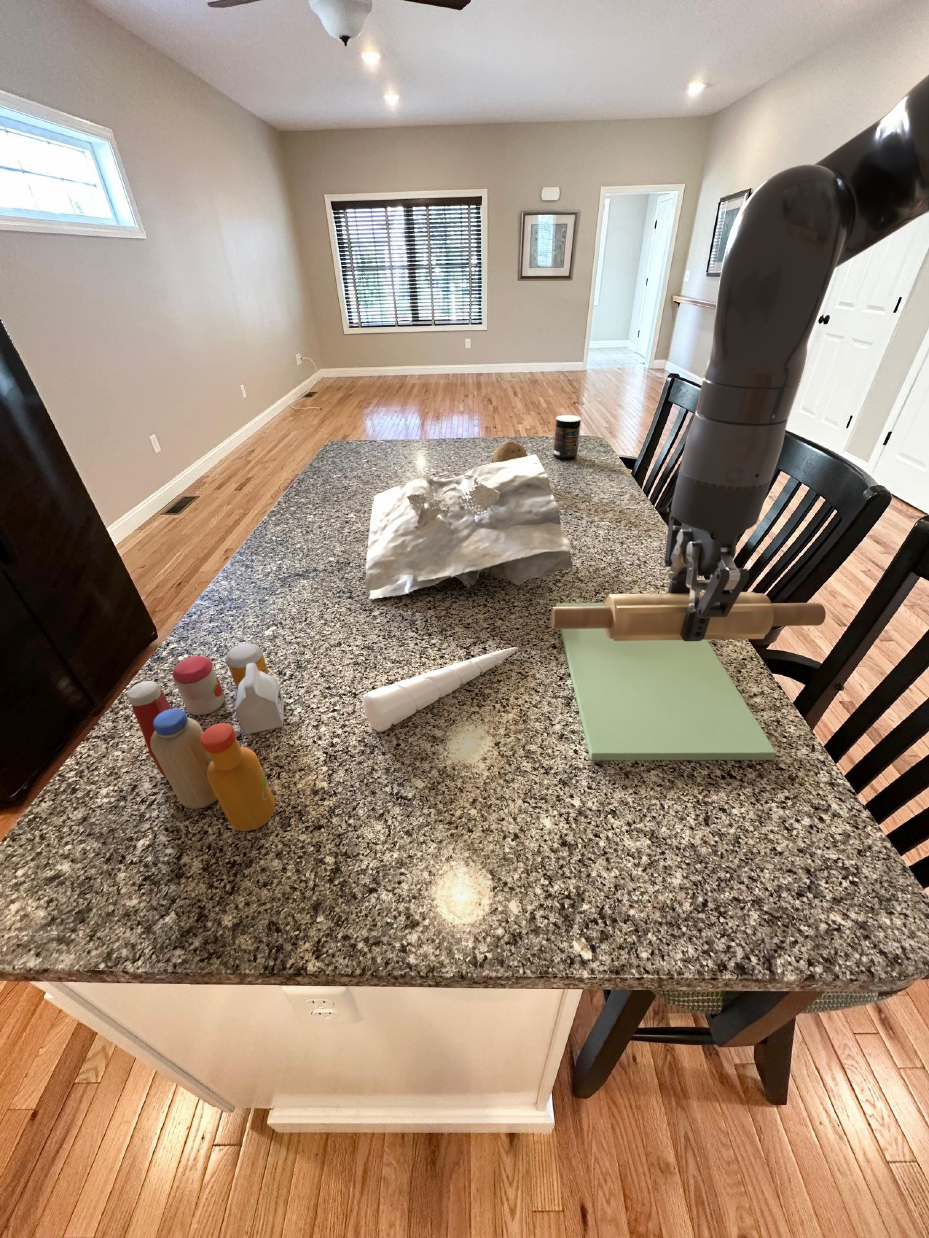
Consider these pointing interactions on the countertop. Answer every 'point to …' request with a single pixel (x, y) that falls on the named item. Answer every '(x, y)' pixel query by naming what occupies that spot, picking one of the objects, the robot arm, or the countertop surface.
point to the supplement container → (566, 437)
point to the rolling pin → (667, 613)
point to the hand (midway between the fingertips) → (682, 623)
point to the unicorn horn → (424, 689)
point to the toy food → (213, 735)
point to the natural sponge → (508, 452)
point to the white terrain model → (466, 529)
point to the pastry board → (658, 700)
